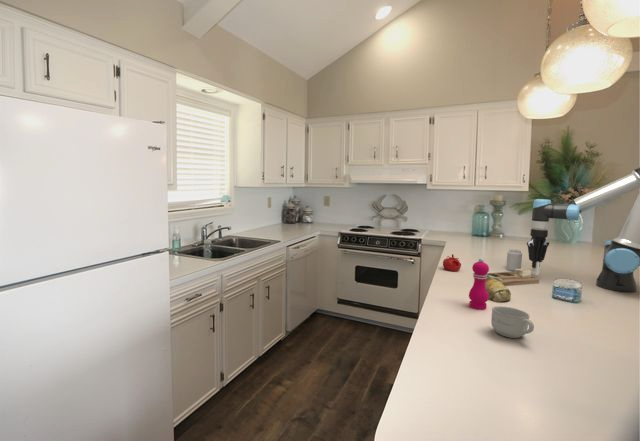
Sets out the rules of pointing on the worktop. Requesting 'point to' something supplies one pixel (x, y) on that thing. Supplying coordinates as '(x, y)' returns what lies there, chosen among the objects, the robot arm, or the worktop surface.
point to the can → (514, 260)
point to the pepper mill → (479, 286)
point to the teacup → (511, 321)
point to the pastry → (497, 291)
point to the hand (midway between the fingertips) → (535, 273)
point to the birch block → (522, 273)
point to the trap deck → (510, 279)
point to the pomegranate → (451, 264)
